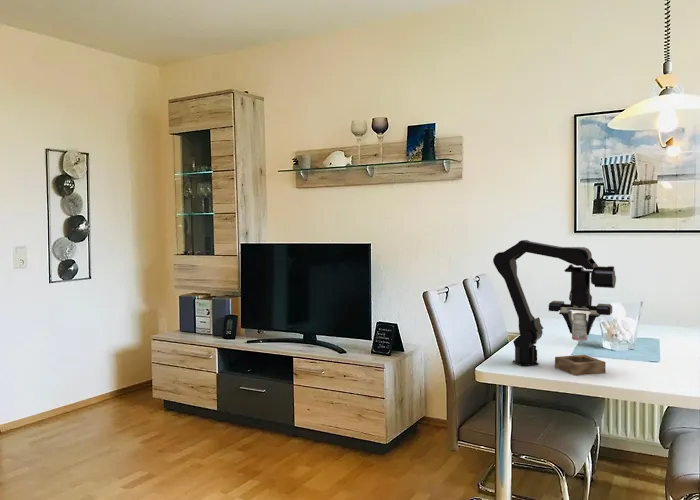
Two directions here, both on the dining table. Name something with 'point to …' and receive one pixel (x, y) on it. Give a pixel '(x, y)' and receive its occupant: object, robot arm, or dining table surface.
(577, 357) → the socket block
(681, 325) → the dining table surface
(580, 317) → the pill bottle
